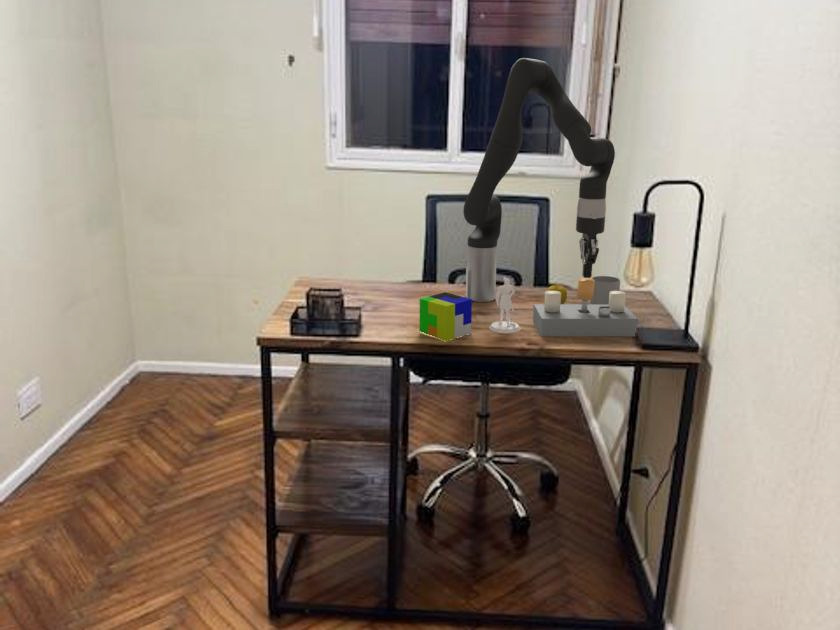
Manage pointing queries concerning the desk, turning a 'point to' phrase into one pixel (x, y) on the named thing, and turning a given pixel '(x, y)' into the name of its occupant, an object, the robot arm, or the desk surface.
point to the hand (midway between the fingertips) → (586, 277)
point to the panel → (583, 321)
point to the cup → (604, 289)
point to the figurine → (507, 303)
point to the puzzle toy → (445, 316)
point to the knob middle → (585, 291)
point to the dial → (604, 311)
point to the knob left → (552, 301)
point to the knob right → (617, 301)
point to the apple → (559, 289)
